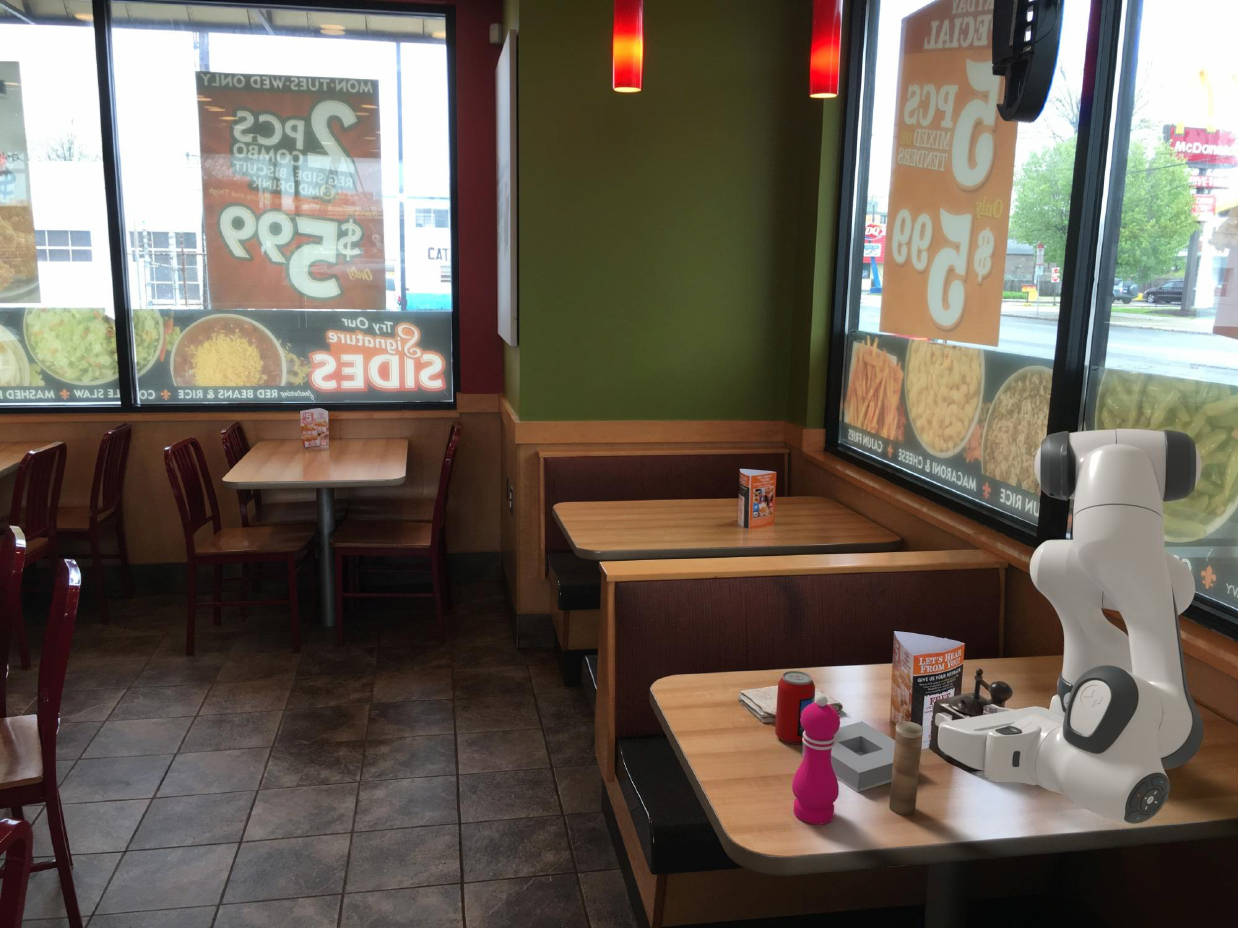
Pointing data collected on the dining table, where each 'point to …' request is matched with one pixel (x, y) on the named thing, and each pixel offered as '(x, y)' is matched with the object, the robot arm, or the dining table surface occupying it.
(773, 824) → the dining table surface
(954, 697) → the manual coffee grinder
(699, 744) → the dining table surface
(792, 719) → the beverage can
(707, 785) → the dining table surface
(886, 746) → the hole block
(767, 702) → the washcloth
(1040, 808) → the dining table surface
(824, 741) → the pepper mill
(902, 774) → the dowel
